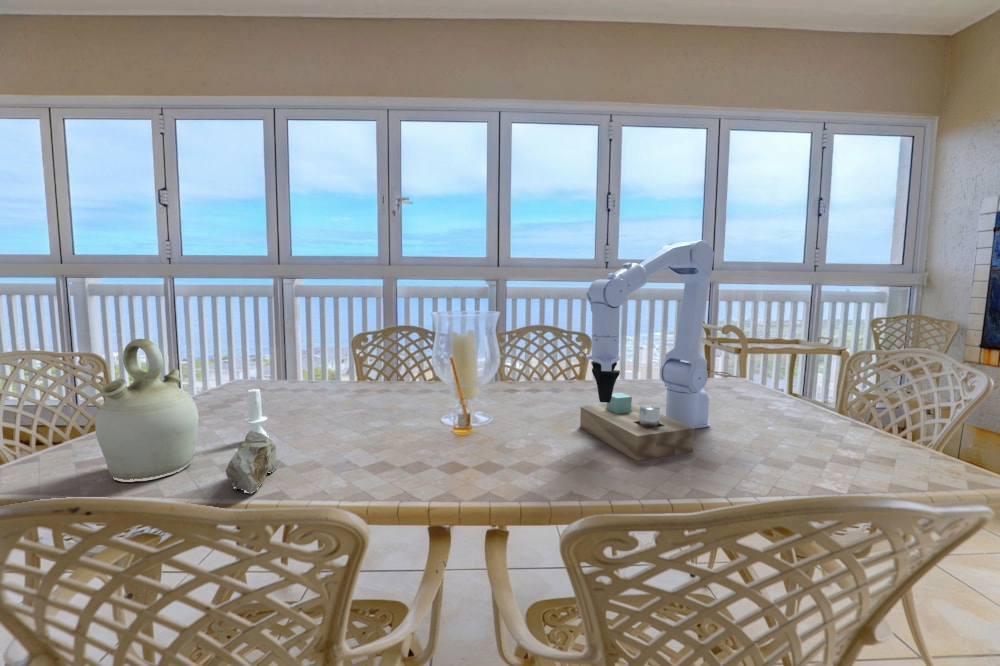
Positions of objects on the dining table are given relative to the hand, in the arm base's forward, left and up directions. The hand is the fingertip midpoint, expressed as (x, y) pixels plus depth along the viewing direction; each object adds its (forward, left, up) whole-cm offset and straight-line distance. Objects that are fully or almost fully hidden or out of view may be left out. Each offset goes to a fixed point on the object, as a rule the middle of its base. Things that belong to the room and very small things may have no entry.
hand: (604, 397), depth 102 cm
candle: (+72, -27, -10) cm, 78 cm away
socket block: (-7, +1, -10) cm, 12 cm away
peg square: (-7, -5, -6) cm, 11 cm away
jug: (+88, -16, -10) cm, 90 cm away
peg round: (-7, +6, -6) cm, 11 cm away
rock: (+70, -3, -10) cm, 71 cm away
